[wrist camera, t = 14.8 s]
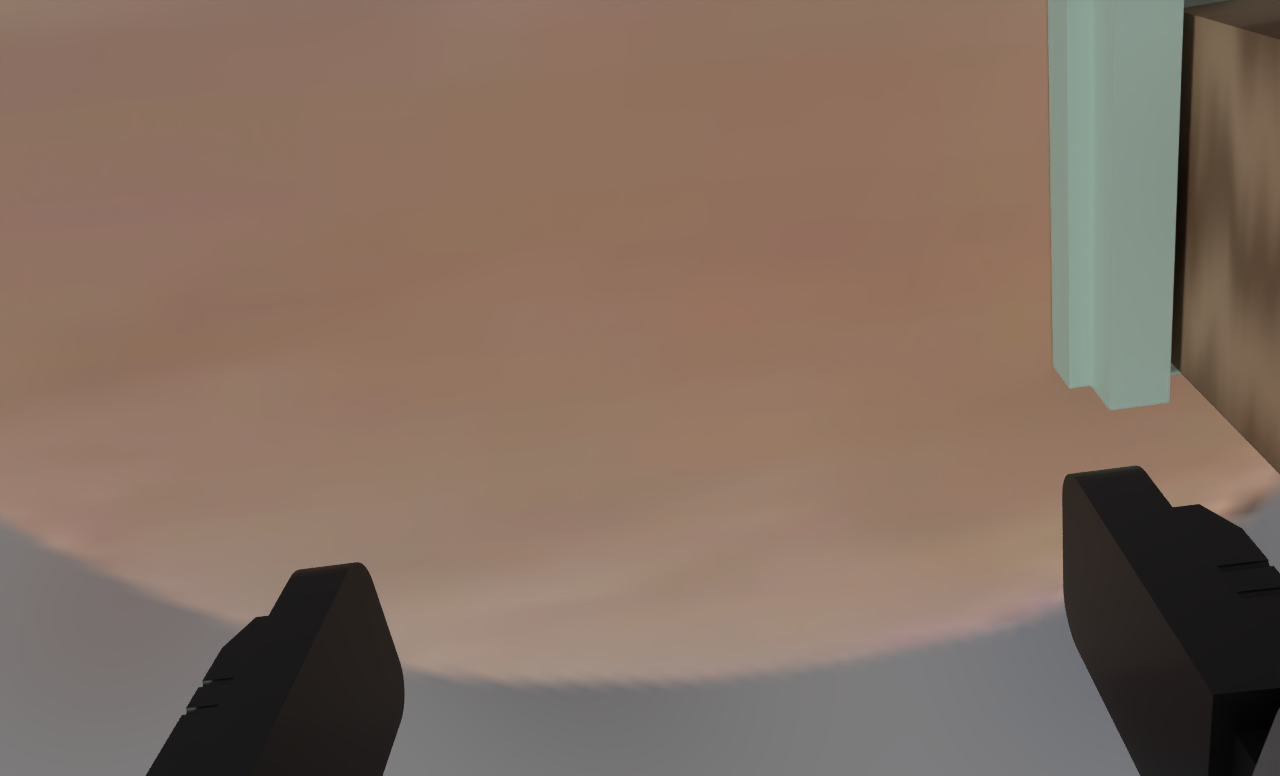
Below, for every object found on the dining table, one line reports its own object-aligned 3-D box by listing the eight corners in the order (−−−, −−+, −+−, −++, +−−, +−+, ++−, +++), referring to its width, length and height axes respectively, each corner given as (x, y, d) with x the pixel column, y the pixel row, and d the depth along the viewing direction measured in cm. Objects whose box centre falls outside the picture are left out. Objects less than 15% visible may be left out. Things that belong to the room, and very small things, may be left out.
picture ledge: (1047, -18, 36) (1088, -5, 32) (1369, -74, 35) (1448, -67, 31) (1053, 365, 42) (1087, 413, 38) (1328, 328, 40) (1390, 373, 37)
